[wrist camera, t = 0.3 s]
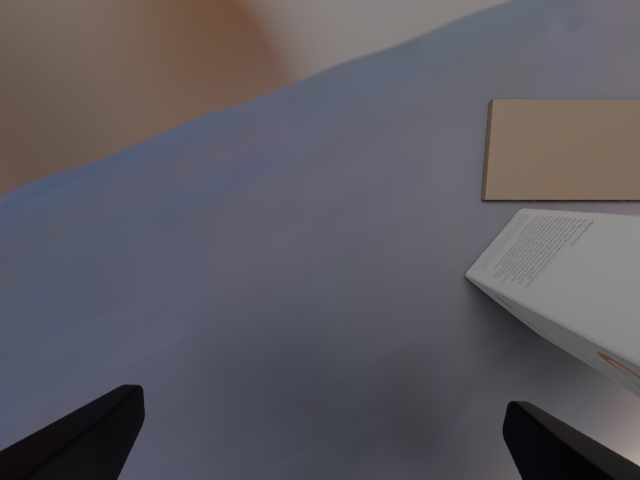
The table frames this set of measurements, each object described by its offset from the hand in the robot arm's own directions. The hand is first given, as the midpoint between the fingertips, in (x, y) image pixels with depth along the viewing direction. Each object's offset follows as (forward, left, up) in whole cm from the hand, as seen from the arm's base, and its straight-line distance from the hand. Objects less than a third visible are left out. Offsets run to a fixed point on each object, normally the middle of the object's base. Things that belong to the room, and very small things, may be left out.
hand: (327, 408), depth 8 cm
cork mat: (+8, -18, -15) cm, 24 cm away
